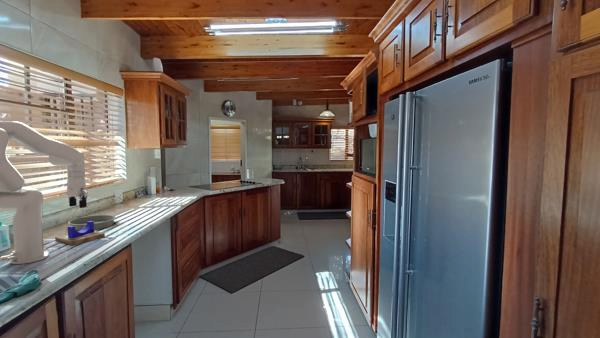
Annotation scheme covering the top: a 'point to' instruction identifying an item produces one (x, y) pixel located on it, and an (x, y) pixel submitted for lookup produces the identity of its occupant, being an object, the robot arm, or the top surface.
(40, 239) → the robot arm
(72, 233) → the blue curved stepped block
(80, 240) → the mounting board
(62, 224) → the top surface
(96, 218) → the cake pan
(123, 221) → the top surface
